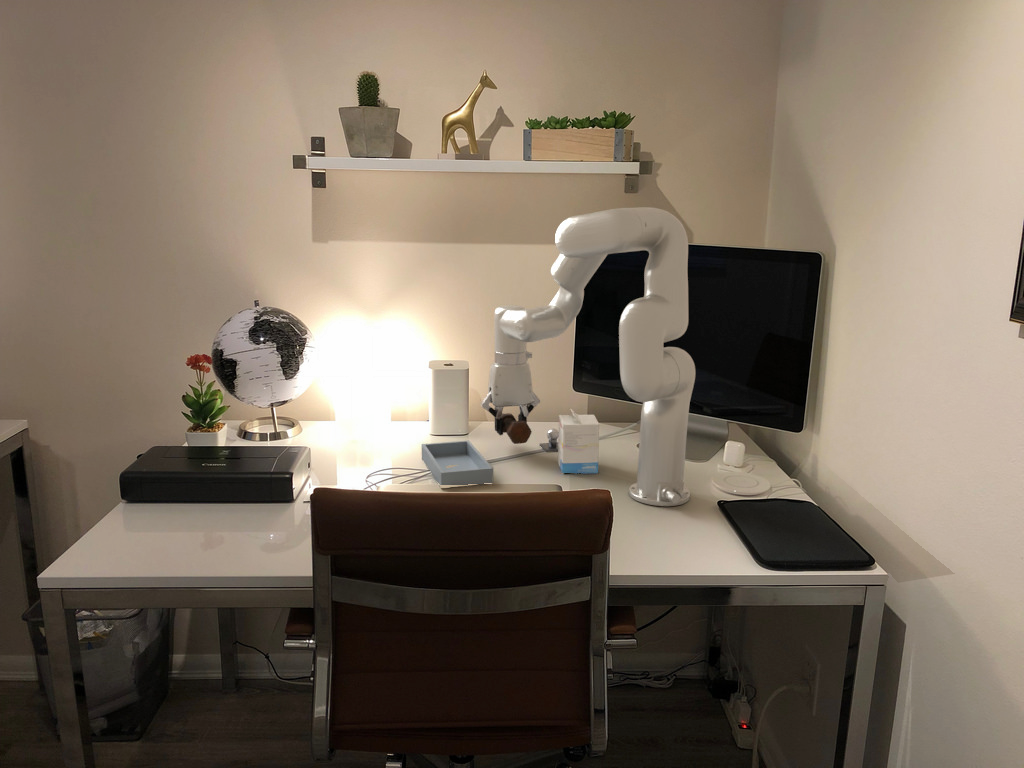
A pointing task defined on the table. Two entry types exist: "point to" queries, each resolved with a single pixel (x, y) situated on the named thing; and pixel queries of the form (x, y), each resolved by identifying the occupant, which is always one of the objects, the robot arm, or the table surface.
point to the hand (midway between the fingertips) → (510, 432)
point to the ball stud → (551, 441)
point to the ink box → (578, 443)
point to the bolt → (515, 429)
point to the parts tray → (456, 463)
